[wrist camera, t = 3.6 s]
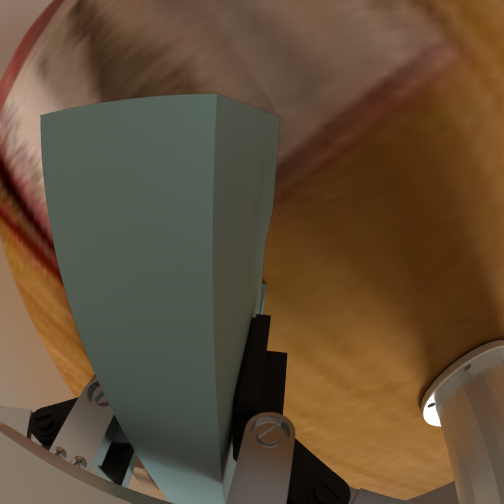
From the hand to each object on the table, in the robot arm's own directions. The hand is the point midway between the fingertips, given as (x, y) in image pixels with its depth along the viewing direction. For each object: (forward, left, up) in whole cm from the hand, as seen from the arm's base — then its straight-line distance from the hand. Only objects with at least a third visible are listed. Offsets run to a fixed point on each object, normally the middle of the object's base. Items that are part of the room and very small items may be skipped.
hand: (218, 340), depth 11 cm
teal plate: (0, 0, -9) cm, 9 cm away
